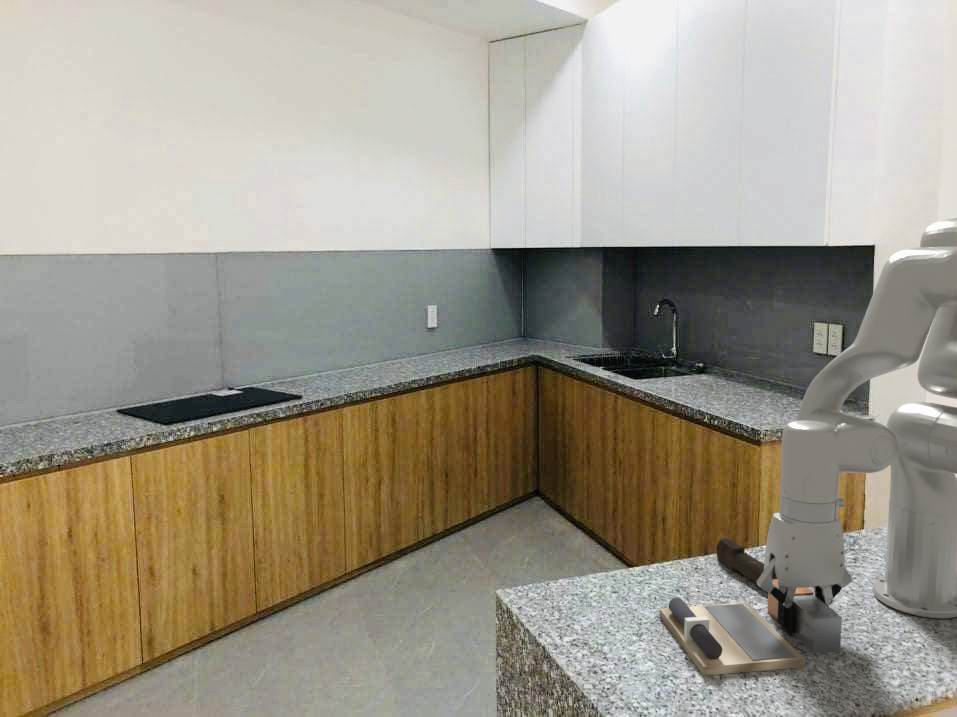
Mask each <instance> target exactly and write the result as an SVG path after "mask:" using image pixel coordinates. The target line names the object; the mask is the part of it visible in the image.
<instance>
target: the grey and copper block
mask: <svg viewBox="0 0 957 717" xmlns="http://www.w3.org/2000/svg"><path fill="white" fill-rule="evenodd" d="M777 583H778V579H774V580H773V581H772V585H774V586H775V587H776V588H777ZM767 593H768V592H767ZM792 606H793V607H794V608H795V609H796V616H795V633H794V634H792V635H793V637H795V638H796V639H797V641H799V642H800V643H801V644H802V645H803V646H804V647H805V648H806V649H807V650H809V651H810V653H811V654H824V653H835V652H841V640H842V638H841V637H842V620H843V619H842V618H843V617H842V616H841V615H839V613H837V612H836V611H834V610H833V609H832V608H831V607H830V606H829V607H828V606H827V605H826V604H825V603H823V602H822V601H821V600H819V599H818V598H817V597H816V596H815V594H814V591H812V590H811V589H809V587H803V588H796V591H795V595H794V599H793V603H792ZM767 613H768V614H770V616H772V618H774V619H775V620H776V621H777V622H778V600H777V599H775V597H774V596H773V595H771V594H770V593H768V594H767Z"/></svg>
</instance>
